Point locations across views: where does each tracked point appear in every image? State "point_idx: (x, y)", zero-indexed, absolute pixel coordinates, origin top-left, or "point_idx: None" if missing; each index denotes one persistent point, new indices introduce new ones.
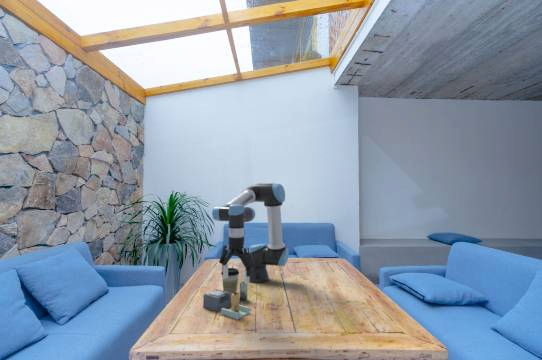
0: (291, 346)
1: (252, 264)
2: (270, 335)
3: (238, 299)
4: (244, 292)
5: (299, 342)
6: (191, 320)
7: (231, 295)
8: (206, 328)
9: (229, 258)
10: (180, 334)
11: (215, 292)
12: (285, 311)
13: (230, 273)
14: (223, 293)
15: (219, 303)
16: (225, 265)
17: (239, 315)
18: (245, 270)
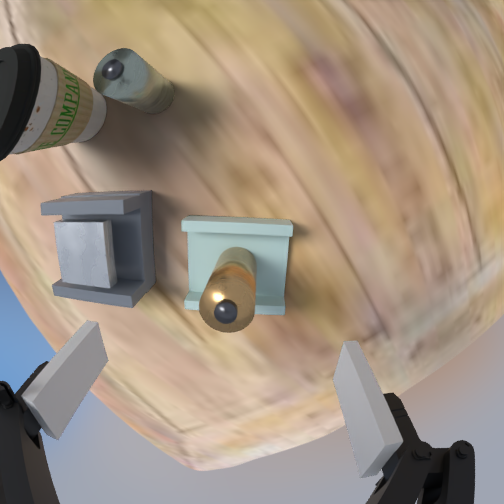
0: (476, 336)
1: (464, 482)
2: (431, 327)
3: (255, 295)
4: (152, 95)
5: (489, 310)
6: (152, 374)
7: (217, 327)
8: (236, 393)
9: (42, 497)
10: (206, 430)
11: (68, 253)
12: (412, 119)
13: (8, 133)
14: (104, 242)
15: (143, 283)
16: (51, 428)
17: (273, 278)
18: (370, 470)
